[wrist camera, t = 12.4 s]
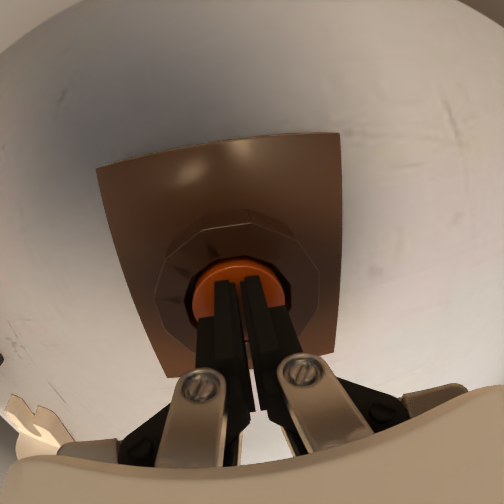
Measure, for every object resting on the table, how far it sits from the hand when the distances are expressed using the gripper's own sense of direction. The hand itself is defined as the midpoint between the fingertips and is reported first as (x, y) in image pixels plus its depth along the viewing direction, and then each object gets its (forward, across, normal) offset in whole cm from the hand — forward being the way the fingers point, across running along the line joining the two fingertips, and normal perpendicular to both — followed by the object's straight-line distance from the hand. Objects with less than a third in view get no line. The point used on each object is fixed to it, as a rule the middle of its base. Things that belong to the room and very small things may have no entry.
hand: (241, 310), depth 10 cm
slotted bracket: (+4, +27, +20) cm, 34 cm away
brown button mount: (+4, 0, 0) cm, 4 cm away
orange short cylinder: (+2, 0, 0) cm, 2 cm away
